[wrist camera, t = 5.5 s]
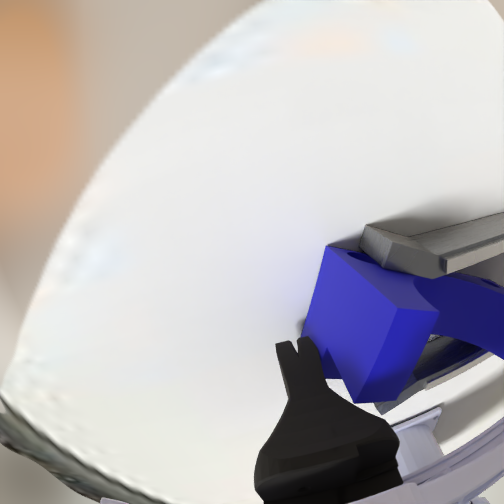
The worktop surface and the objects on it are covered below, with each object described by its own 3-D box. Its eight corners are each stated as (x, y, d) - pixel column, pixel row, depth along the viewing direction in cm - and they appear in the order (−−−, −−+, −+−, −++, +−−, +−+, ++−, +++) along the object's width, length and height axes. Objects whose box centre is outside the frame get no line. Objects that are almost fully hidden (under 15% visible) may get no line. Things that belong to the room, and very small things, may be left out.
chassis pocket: (532, 305, 14) (552, 320, 11) (361, 388, 15) (376, 421, 12) (547, 186, 11) (573, 194, 8) (356, 226, 11) (385, 246, 9)
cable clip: (300, 337, 13) (335, 436, 7) (325, 245, 12) (397, 308, 6) (464, 343, 14) (517, 393, 8) (490, 280, 13) (555, 318, 7)
